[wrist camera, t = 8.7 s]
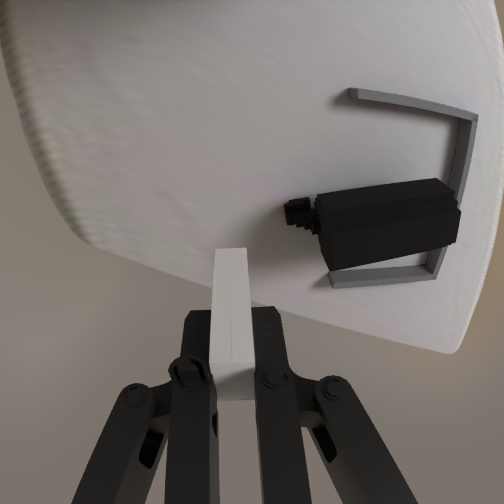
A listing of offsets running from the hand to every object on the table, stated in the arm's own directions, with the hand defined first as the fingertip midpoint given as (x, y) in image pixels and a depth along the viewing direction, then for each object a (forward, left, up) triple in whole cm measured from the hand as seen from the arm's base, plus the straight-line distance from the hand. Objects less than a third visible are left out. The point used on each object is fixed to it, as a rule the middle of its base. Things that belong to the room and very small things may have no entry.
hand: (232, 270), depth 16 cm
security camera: (+5, +15, -20) cm, 26 cm away
